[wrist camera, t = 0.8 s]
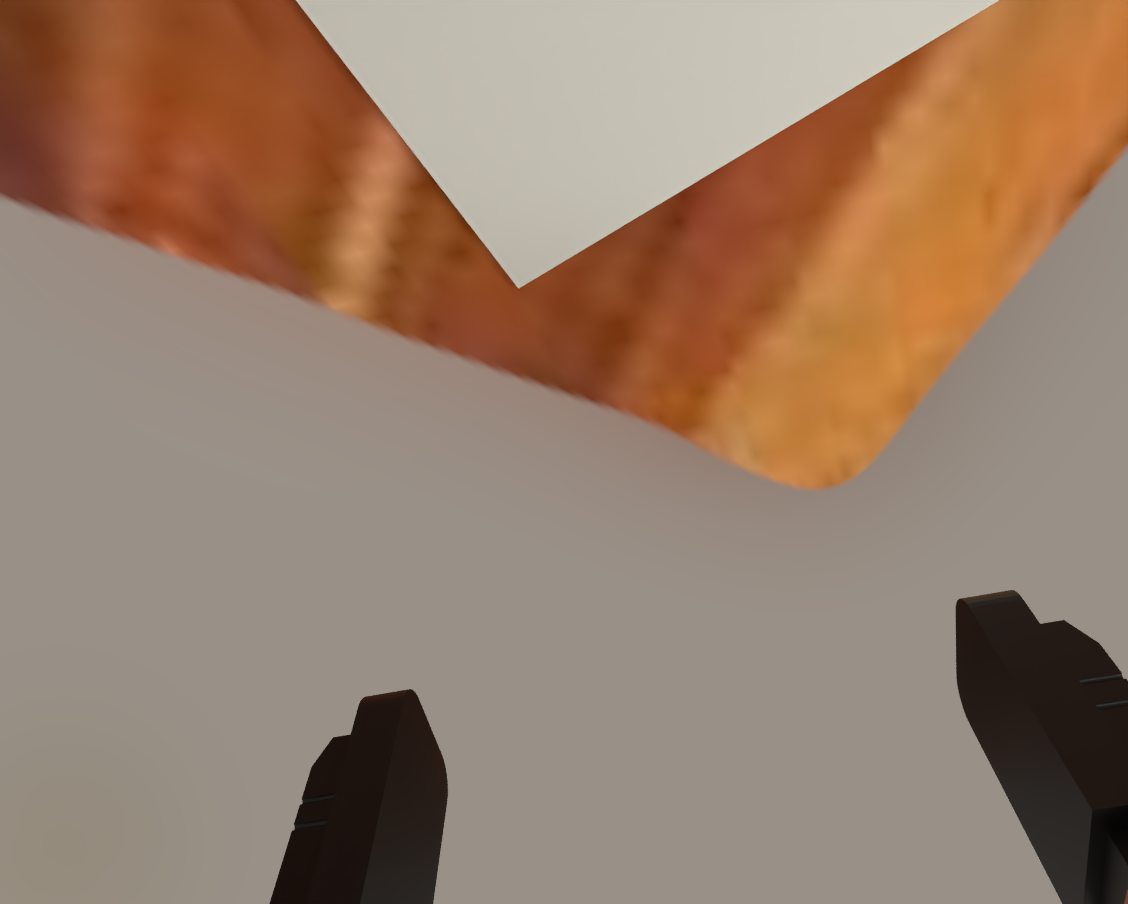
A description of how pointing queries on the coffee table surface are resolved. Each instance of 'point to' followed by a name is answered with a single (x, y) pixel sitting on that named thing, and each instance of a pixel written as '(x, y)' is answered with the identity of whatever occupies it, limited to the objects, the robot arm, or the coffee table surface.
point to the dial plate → (604, 96)
